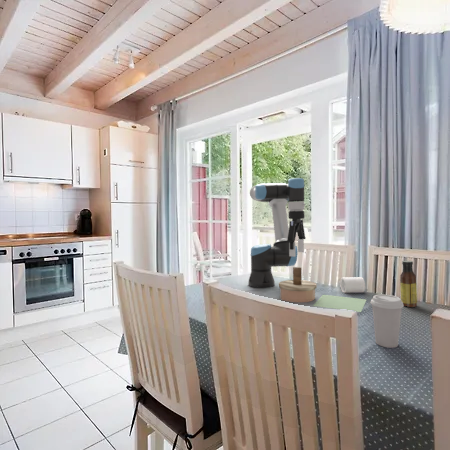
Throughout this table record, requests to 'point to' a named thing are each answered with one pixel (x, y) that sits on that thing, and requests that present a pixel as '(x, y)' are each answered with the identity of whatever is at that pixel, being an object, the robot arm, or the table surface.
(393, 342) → the coffee cup
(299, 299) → the bowl
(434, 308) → the table surface
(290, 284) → the lid
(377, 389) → the table surface
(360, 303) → the mat
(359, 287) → the mug
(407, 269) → the sauce bottle
